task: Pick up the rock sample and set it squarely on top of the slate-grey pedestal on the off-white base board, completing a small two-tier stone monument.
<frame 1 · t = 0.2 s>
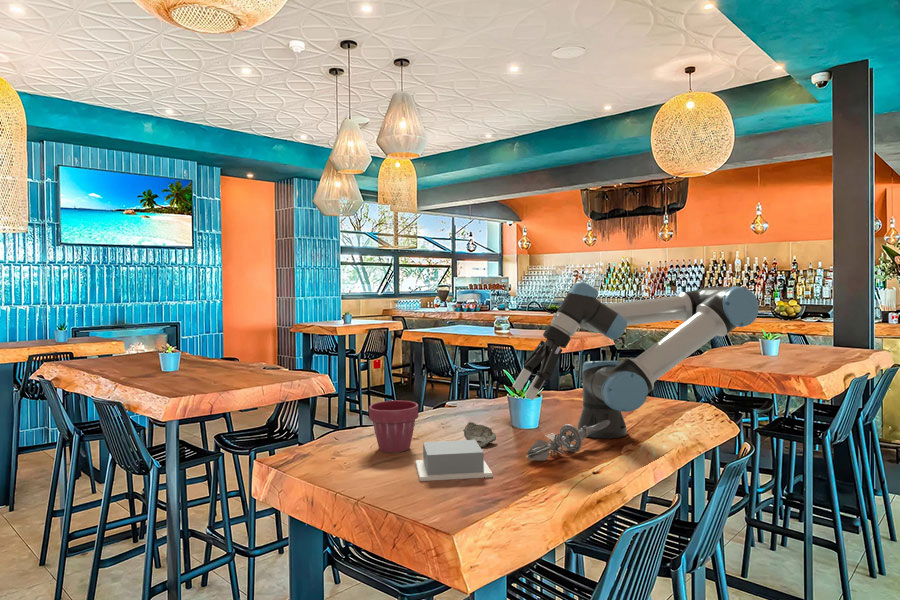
hand: (522, 393, 169), 16 cm above the table, fingers open, 13 cm apart
spaceship: (571, 452, 166), on the table
rock sample: (481, 445, 175), on the table
plant pot: (394, 449, 172), on the table
plinth: (452, 470, 151), on the table
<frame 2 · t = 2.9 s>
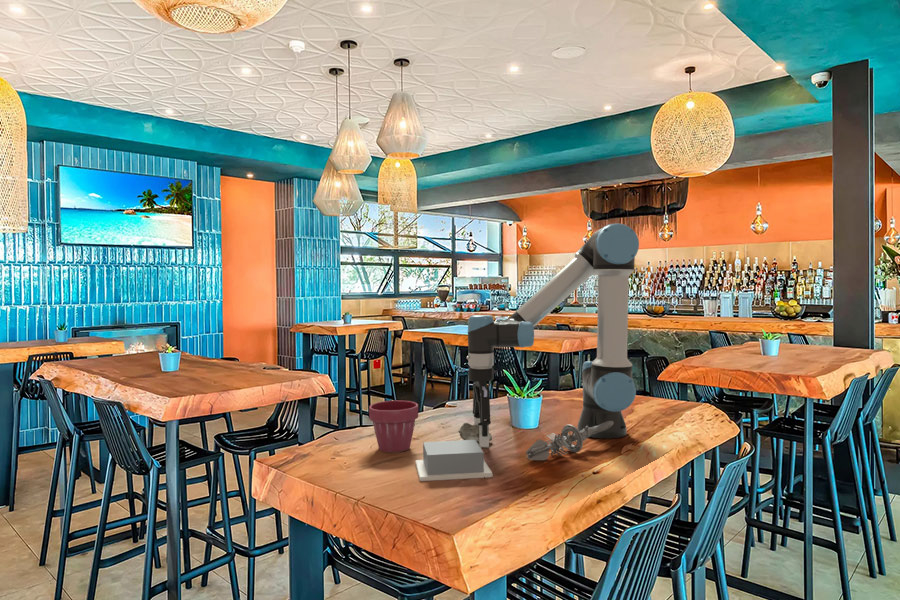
hand: (481, 443, 175), 0 cm above the table, fingers closed on rock sample, 8 cm apart
rock sample: (478, 445, 175), on the table, touching gripper
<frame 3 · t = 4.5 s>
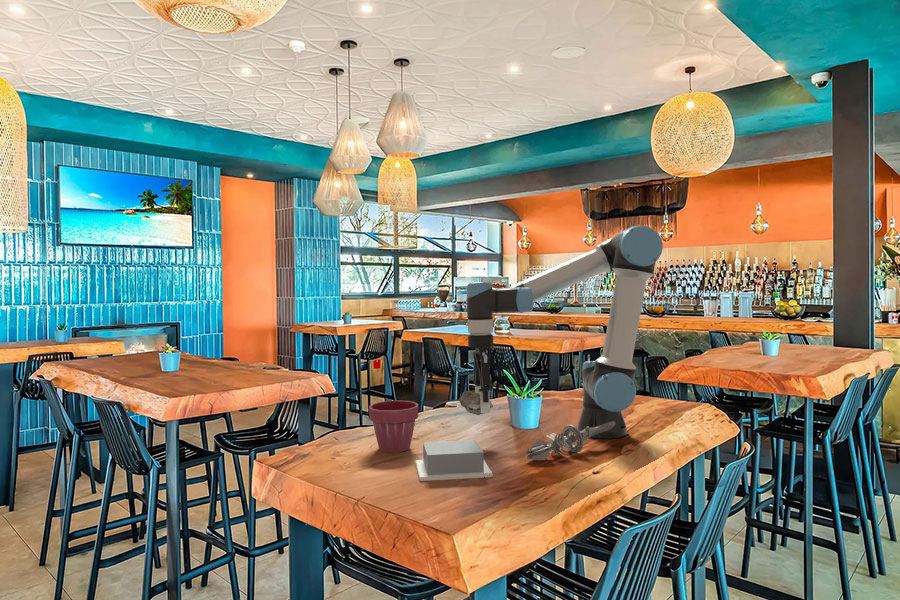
hand: (482, 410, 175), 10 cm above the table, fingers closed on rock sample, 8 cm apart
rock sample: (479, 413, 175), point 9 cm above the table, touching gripper
everything else where it was.
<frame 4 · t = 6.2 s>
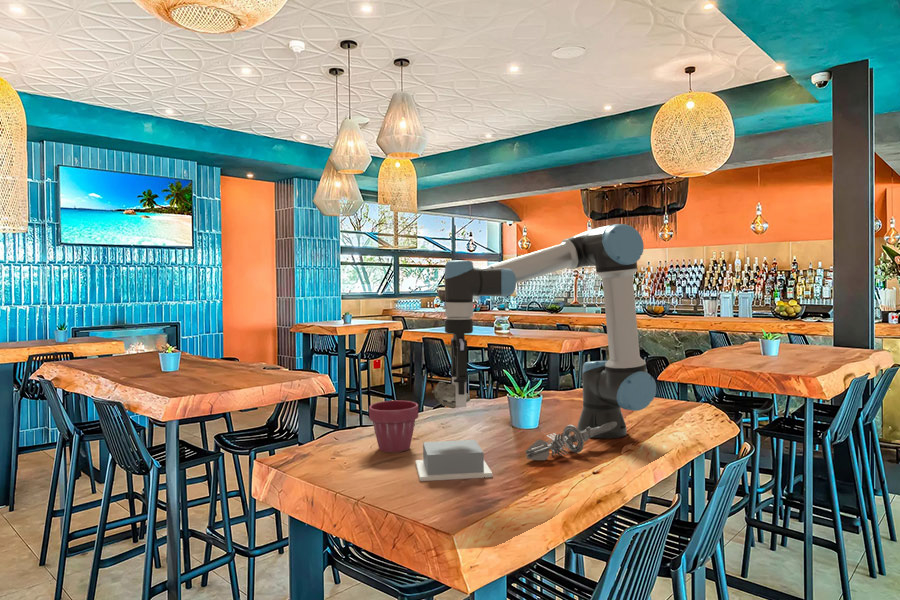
hand: (458, 403, 157), 16 cm above the table, fingers closed on rock sample, 8 cm apart
rock sample: (454, 406, 157), point 15 cm above the table, touching gripper
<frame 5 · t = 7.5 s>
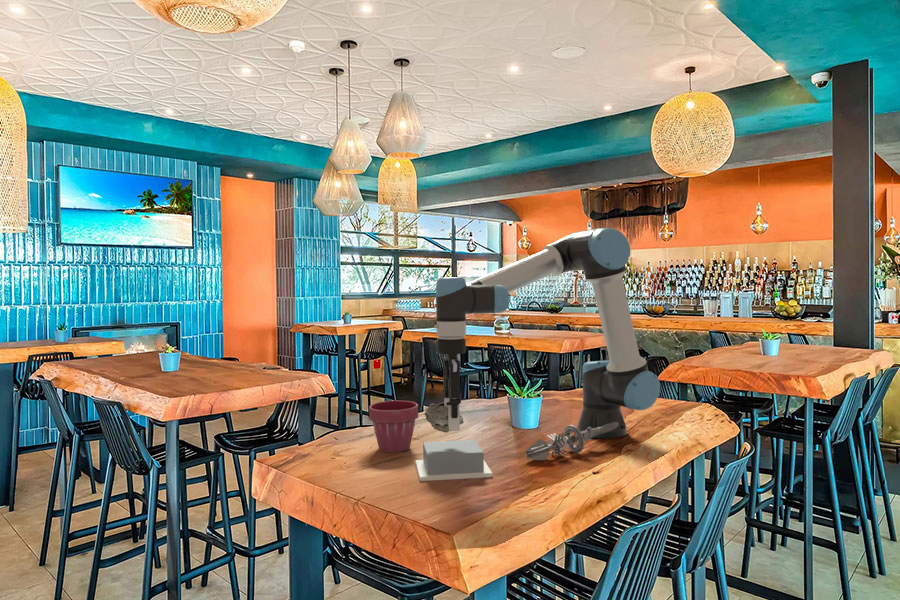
hand: (451, 426, 151), 11 cm above the table, fingers closed on rock sample, 8 cm apart
rock sample: (447, 430, 151), point 10 cm above the table, touching gripper
when the fingers open (9 cm above the table, at t = 8.8 s): rock sample drops 2 cm, resting on plinth.
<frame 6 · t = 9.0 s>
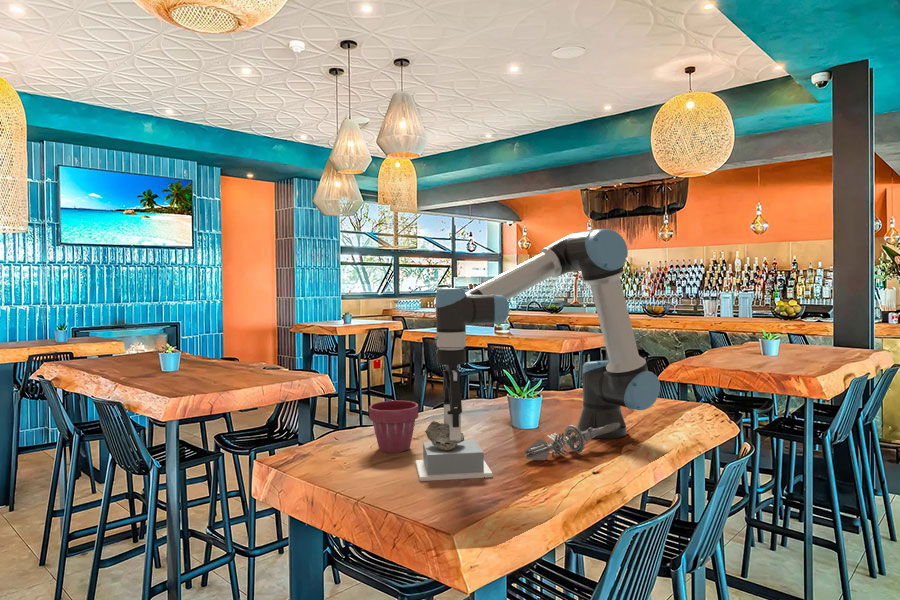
hand: (452, 434, 151), 9 cm above the table, fingers open, 10 cm apart
rock sample: (448, 447, 151), point 6 cm above the table, touching plinth
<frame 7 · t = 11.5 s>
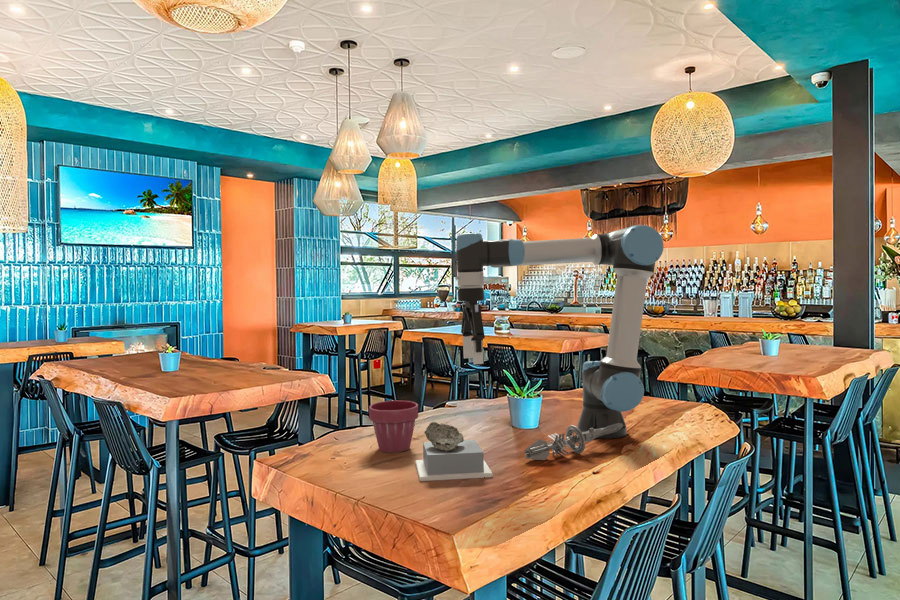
hand: (473, 361, 169), 26 cm above the table, fingers open, 13 cm apart
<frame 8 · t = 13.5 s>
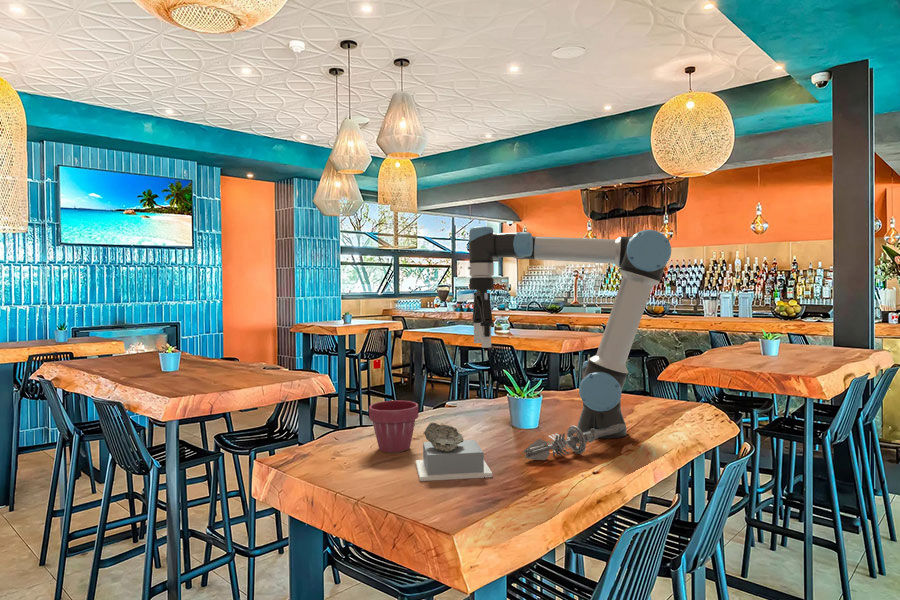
hand: (482, 345, 183), 29 cm above the table, fingers open, 13 cm apart
at the end: rock sample inside the target area on the plinth (1.7 cm from its centre), point 5.8 cm above the plinth's base; the gripper is holding nothing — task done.
